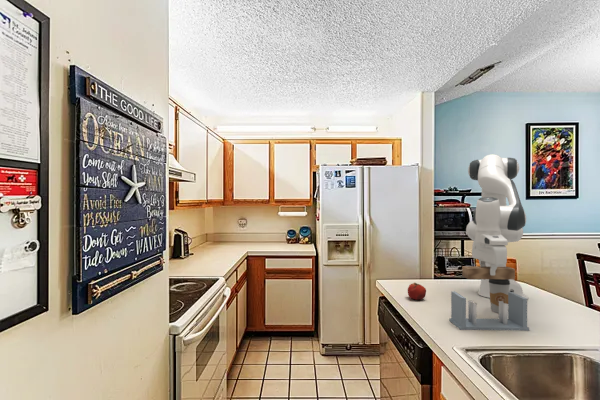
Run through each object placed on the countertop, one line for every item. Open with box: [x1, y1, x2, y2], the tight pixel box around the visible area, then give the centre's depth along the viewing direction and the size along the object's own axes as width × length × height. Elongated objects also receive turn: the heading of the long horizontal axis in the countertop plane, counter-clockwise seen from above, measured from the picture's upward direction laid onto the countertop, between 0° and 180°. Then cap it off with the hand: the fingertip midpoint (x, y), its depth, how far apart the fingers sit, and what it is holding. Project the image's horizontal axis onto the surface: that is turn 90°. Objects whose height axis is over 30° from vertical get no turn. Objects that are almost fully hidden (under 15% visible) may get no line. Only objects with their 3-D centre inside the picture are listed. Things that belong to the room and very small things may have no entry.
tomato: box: [407, 282, 427, 301], centre depth 175 cm, size 9×9×8 cm
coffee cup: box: [489, 279, 510, 314], centre depth 156 cm, size 8×8×15 cm
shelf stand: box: [448, 290, 530, 332], centre depth 138 cm, size 26×10×12 cm, turn 88°
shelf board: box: [461, 265, 516, 280], centre depth 138 cm, size 18×5×4 cm, turn 88°
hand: (487, 273), depth 138 cm, fingers closed on shelf board, 5 cm apart
